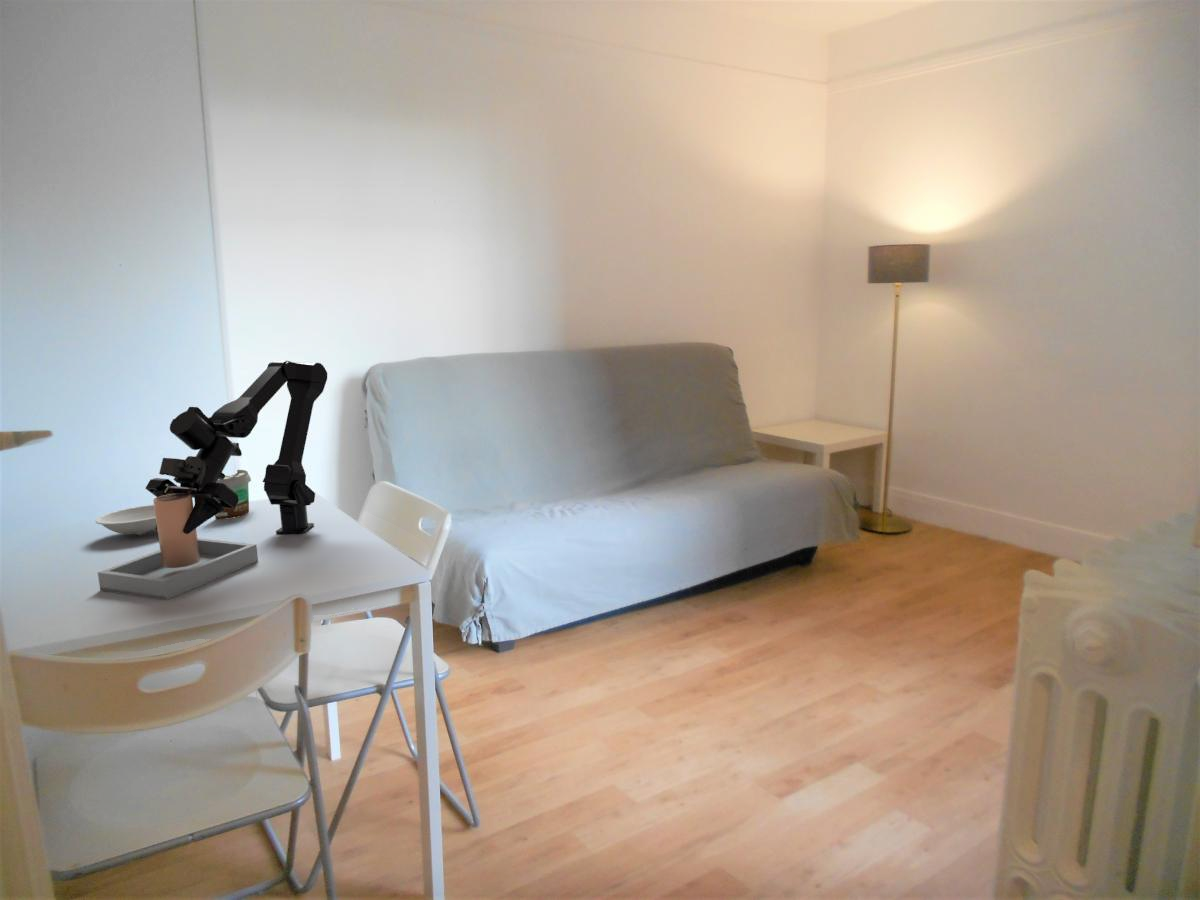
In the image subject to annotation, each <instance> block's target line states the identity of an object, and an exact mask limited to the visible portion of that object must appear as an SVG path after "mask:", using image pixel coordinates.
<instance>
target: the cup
mask: <svg viewBox="0 0 1200 900" xmlns="http://www.w3.org/2000/svg"><path fill="white" fill-rule="evenodd" d="M193 501H194V500H193V498H192V494H189V493H175V494H168V495H163V496H159V497H156V496H155V497H154V498H153V505H154V509H155V516H156V523H157V529H156V531H157V536H158V542H159V543H158V544H159V550H160V551H161V559H162V566H163V567H166V568H179V567H185V566H190V565H193V564H195V563H197V562H199V561H200V554H199V546H198V538H199V537H198V531H197V528H196V529H194V530H193V531H191V532H190V533H189V534H185V533H184V532H183V529H184V527H185V524H186V522H187V520H188V518H189V516H190V514H191V512H192V510H193V508H194V502H193Z"/></svg>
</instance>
